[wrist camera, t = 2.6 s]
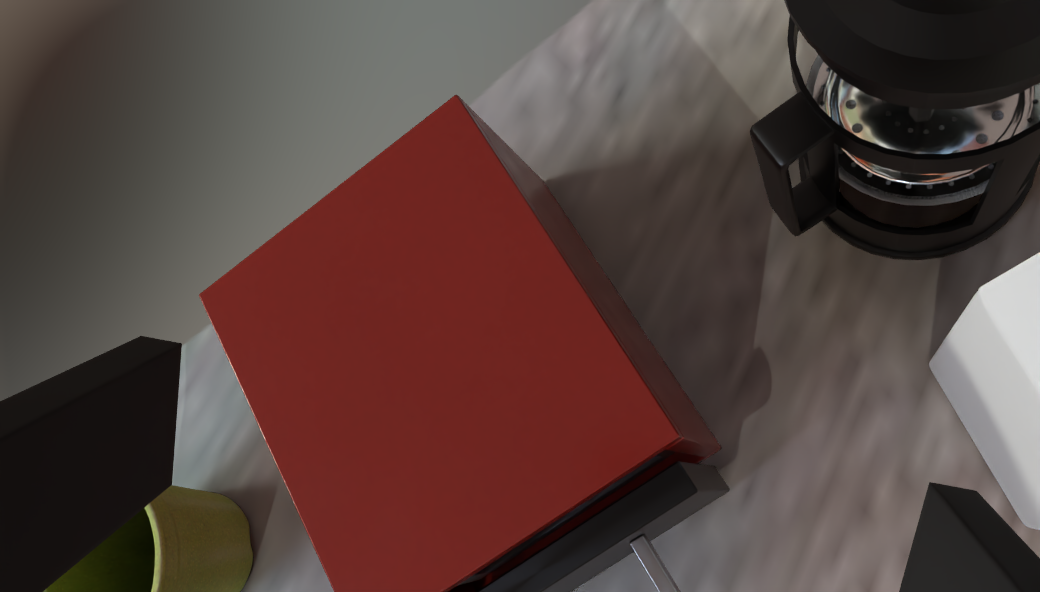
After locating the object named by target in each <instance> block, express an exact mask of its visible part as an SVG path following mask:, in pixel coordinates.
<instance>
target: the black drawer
mask: <svg viewBox="0 0 1040 592" xmlns="http://www.w3.org/2000/svg"><path fill="white" fill-rule="evenodd" d="M674 453H675V451H670V450H664V451H662V452H661V453H659V454H658V455H656V456H655V457H653V458H651V459H650V460H648V461H647V462H645V463H644V464H642V465H641V466H639V467H638V468H636V469H635V470H633V471H632V472H630V473H629V474H627V475H625V476H624V477H622V478H621V479H619V480H618V481H616V482H615V483H613V484H612V485H610V486H609V487H607V488H606V489H604V490H603V491H601V492H599V493H598V494H596V495H595V496H593V497H592V498H590V499H589V500H587V501H586V502H584V503H583V504H581V505H580V506H578V507H577V508H575V509H573V510H572V511H570V512H569V513H567V514H566V515H564V516H563V517H561V518H560V519H558V520H557V521H555V522H554V523H552V524H551V525H549V526H547V527H546V528H544V529H543V530H541V531H540V532H538V533H537V534H535V535H534V536H532V537H531V538H529V539H528V540H526V541H525V542H523V543H521V544H520V545H518V546H517V547H515V548H514V549H512V550H511V551H509V552H508V553H506V554H505V555H503V556H502V557H500V558H499V559H497V560H495V561H494V562H492V563H491V564H489V565H488V566H486V567H485V568H483V569H482V570H480V571H479V572H477V573H476V574H474V575H473V576H471V577H470V578H468V579H466V580H465V581H463V582H462V583H460V584H459V585H462V584H466V583H470V582H473V581H476V580H480V579H482V578H483V577H485V576H486V575H488V574H489V573H491V572H493V571H494V570H496V569H497V568H499V567H500V566H502V565H503V564H505V563H506V562H508V561H509V560H511V559H512V558H514V557H516V556H517V555H519V554H520V553H522V552H523V551H525V550H526V549H528V548H529V547H531V546H532V545H534V544H535V543H537V542H539V541H540V540H542V539H543V538H545V537H546V536H548V535H549V534H551V533H552V532H554V531H555V530H557V529H559V528H560V527H562V526H563V525H565V524H566V523H568V522H569V521H571V520H572V519H574V518H575V517H577V516H578V515H580V514H582V513H583V512H585V511H586V510H588V509H589V508H591V507H592V506H594V505H595V504H597V503H598V502H600V501H601V500H603V499H605V498H606V497H608V496H609V495H611V494H612V493H614V492H615V491H617V490H618V489H620V488H621V487H623V486H624V485H626V484H628V483H629V482H631V481H632V480H634V479H635V478H637V477H638V476H640V475H641V474H643V473H644V472H646V471H647V470H649V469H651V468H652V467H654V466H655V465H657V464H658V463H660V462H661V461H663V460H664V459H666V458H667V457H669V456H671V455H672V454H674ZM729 490H730V488H729V487H728V485H727V484H726V482H725V481H724V479H723V478H722V476H721V475H720V473H719V472H718V470H717V469H716V467H715V466H709V465H702V464H695V463H687V462H680V461H677V462H675V463H674V464H672V465H671V466H669V467H667V468H666V469H664V470H663V471H661V472H660V473H658V474H657V475H655V476H654V477H652V478H651V479H649V480H647V481H646V482H644V483H643V484H641V485H640V486H638V487H637V488H635V489H634V490H632V491H630V492H629V493H627V494H626V495H624V496H623V497H621V498H620V499H618V500H617V501H615V502H614V503H612V504H610V505H609V506H607V507H606V508H604V509H603V510H601V511H600V512H598V513H597V514H595V515H594V516H592V517H590V518H589V519H587V520H586V521H584V522H583V523H581V524H580V525H578V526H577V527H575V528H574V529H572V530H570V531H569V532H567V533H566V534H564V535H563V536H561V537H560V538H558V539H557V540H555V541H553V542H552V543H550V544H549V545H547V546H546V547H544V548H543V549H541V550H540V551H538V552H537V553H535V554H533V555H532V556H530V557H529V558H527V559H526V560H524V561H523V562H521V563H520V564H518V565H517V566H515V567H513V568H512V569H510V570H509V571H507V572H506V573H504V574H503V575H501V576H500V577H498V578H497V579H495V580H493V581H492V582H490V583H489V584H487V585H486V586H484V587H483V588H481V589H480V590H478V591H476V592H571V591H572V590H574V589H575V588H577V587H579V586H580V585H582V584H583V583H585V582H587V581H588V580H590V579H591V578H593V577H594V576H596V575H598V574H599V573H601V572H602V571H604V570H605V569H607V568H609V567H610V566H612V565H613V564H615V563H616V562H618V561H620V560H621V559H623V558H624V557H626V556H628V555H629V554H631V553H632V552H635V554H636V555H637V557H638V559H639V560H640V562H641V564H642V565H643V567H644V569H645V570H646V572H647V574H648V575H649V577H650V579H651V580H652V582H653V584H654V585H655V587H656V589H657V590H658V592H681V591H680V590H679V588H678V586H677V585H676V583H675V582H674V580H673V578H672V577H671V575H670V573H669V572H668V570H667V568H666V567H665V565H664V563H663V562H662V560H661V559H660V557H659V555H658V554H657V552H656V550H655V549H654V547H653V545H652V544H651V542H650V541H651V540H653V539H654V538H656V537H657V536H659V535H661V534H662V533H664V532H665V531H667V530H668V529H670V528H672V527H673V526H675V525H676V524H678V523H680V522H681V521H683V520H684V519H686V518H687V517H689V516H691V515H692V514H694V513H695V512H697V511H698V510H700V509H702V508H703V507H705V506H706V505H708V504H709V503H711V502H713V501H714V500H716V499H717V498H719V497H721V496H722V495H724V494H725V493H727V492H728V491H729ZM457 586H458V585H457Z"/></svg>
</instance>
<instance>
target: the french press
mask: <svg viewBox="0 0 1040 592" xmlns="http://www.w3.org/2000/svg"><path fill="white" fill-rule="evenodd" d="M784 1H785V3H786V6H787V9H788V11H789V14H790V18H789V29H788V47H789V55H790V63H791V70H792V78H793V83H794V85H795V88H796V91H797V94H796V95H795V96H793V97H792V98H790V99H789V100H787V101H786V102H785V103H783V104H782V105H780V106H779V107H778V108H776V109H775V110H773V111H772V112H771V113H769V114H768V115H766V116H765V117H763V118H762V119H761V120H759V121H758V122H757V123H755V124H754V125H753V126H752V127H751V129H750V135H751V138H752V142H753V146H754V149H755V153H756V156H757V160H758V164H759V167H760V171H761V174H762V178H763V182H764V185H765V189H766V192H767V196H768V200H769V203H770V205H771V208H772V209H773V210H774V211H775V213H776V214H777V215H778V217H779V218H780V219H781V220H782V222H783V223H784V224H785V226H786V227H787V228H788V230H789V231H790V232H791V233H792V234H793V235H794V236H799V235H801V234H802V233H804V232H805V231H807V230H808V229H810V228H811V227H813V226H814V225H816V224H817V223H819V222H820V221H822V222H823V223H824V224H825V225H826V226H827V227H828V228H829V229H830V230H831V231H832V232H833V233H835V234H836V235H837V236H839V237H840V238H842V239H843V240H845V241H846V242H848V243H849V244H851V245H853V246H855V247H857V248H860V249H862V250H864V251H866V252H869V253H871V254H875V255H879V256H883V257H888V258H892V259H904V260H924V259H932V258H939V257H944V256H948V255H951V254H954V253H957V252H960V251H964V250H966V249H968V248H970V247H972V246H974V245H976V244H978V243H980V242H982V241H983V240H985V239H987V238H988V237H990V236H991V235H992V234H993V233H995V232H996V231H997V230H999V229H1000V228H1001V227H1002V226H1004V225H1005V224H1006V223H1007V222H1008V220H1009V219H1010V218H1011V217H1012V216H1013V215H1014V213H1015V212H1016V211H1017V210H1018V209H1019V207H1020V206H1021V205H1022V203H1023V201H1024V199H1025V197H1026V195H1027V193H1028V192H1029V190H1030V188H1031V186H1032V184H1033V180H1034V177H1035V173H1036V170H1037V166H1038V163H1039V161H1040V0H784ZM799 30H800V32H801V33H802V35H803V36H804V38H805V39H806V41H807V42H808V43H809V44H810V45H811V46H812V47H813V48H814V49H815V50H816V52H817V53H818V56H817V58H816V60H815V62H814V64H813V65H812V68H811V71H810V74H809V77H808V81H807V84H806V86H805V84H804V81H803V79H802V76H801V73H800V71H799V68H798V65H797V62H796V47H797V35H798V31H799ZM798 158H799V168H800V176H801V183H799V184H798V185H796V186H795V187H794V188H792V186H791V181H790V175H789V170H788V168H789V165H790V164H792V163H793V162H794V161H795V160H796V159H798ZM839 178H840V179H842V180H843V181H845V182H846V183H848V184H849V185H851V186H852V187H854V188H855V189H857V190H858V191H860V192H863V193H865V194H868V195H870V196H872V197H875V198H877V199H880V200H883V201H888V202H893V203H898V204H903V205H921V206H932V205H939V204H946V203H953V202H958V201H961V200H964V199H967V198H970V197H973V196H976V195H979V194H982V193H983V195H982V197H981V199H980V201H979V203H978V204H977V205H975V206H974V207H973V208H972V209H970V210H969V211H968V212H966V213H964V214H962V215H960V216H959V217H957V218H955V219H953V220H950V221H947V222H944V223H941V224H938V225H934V226H927V227H919V228H912V227H898V226H893V225H888V224H884V223H881V222H879V221H876V220H874V219H872V218H869V217H867V216H866V215H864V214H863V213H861V212H860V211H858V210H857V209H855V208H854V207H853V206H852V205H851V204H850V203H849V202H848V201H847V200H846V199H845V198H844V197H843V195H842V194H841V192H840V191H839Z"/></svg>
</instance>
